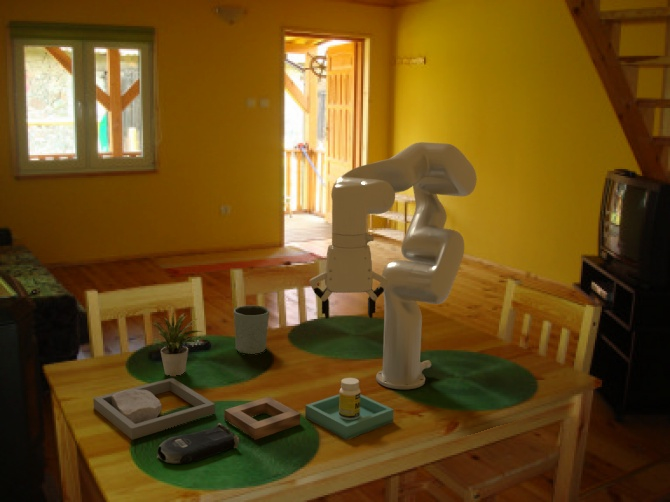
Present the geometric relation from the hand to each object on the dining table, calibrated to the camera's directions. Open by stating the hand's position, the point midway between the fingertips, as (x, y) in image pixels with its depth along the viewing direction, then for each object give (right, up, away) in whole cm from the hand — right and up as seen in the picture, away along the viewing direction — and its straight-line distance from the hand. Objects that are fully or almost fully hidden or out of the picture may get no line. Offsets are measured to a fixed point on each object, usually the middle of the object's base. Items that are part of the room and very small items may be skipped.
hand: (348, 316), depth 154 cm
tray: (0, -24, +3) cm, 24 cm away
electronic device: (-31, -27, -12) cm, 43 cm away
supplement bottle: (0, -23, +3) cm, 23 cm away
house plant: (-45, -18, +28) cm, 56 cm away
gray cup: (-27, -14, +47) cm, 56 cm away
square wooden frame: (-19, -24, +1) cm, 30 cm away
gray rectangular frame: (-44, -22, +5) cm, 50 cm away
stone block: (-48, -23, +5) cm, 53 cm away
